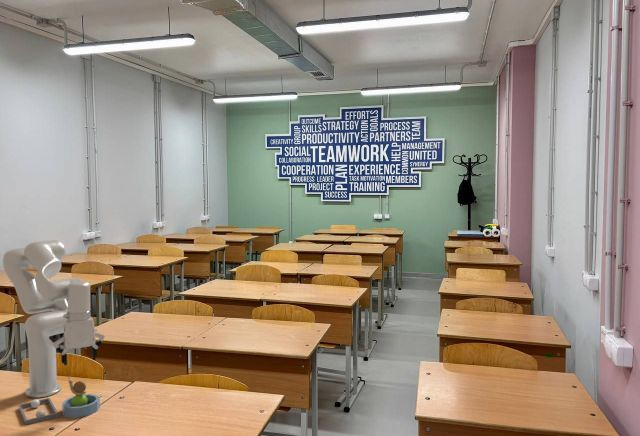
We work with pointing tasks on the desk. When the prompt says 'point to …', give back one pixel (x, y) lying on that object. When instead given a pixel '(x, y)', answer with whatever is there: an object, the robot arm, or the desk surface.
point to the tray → (38, 417)
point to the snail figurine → (78, 393)
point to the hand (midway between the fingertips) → (79, 361)
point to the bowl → (81, 407)
